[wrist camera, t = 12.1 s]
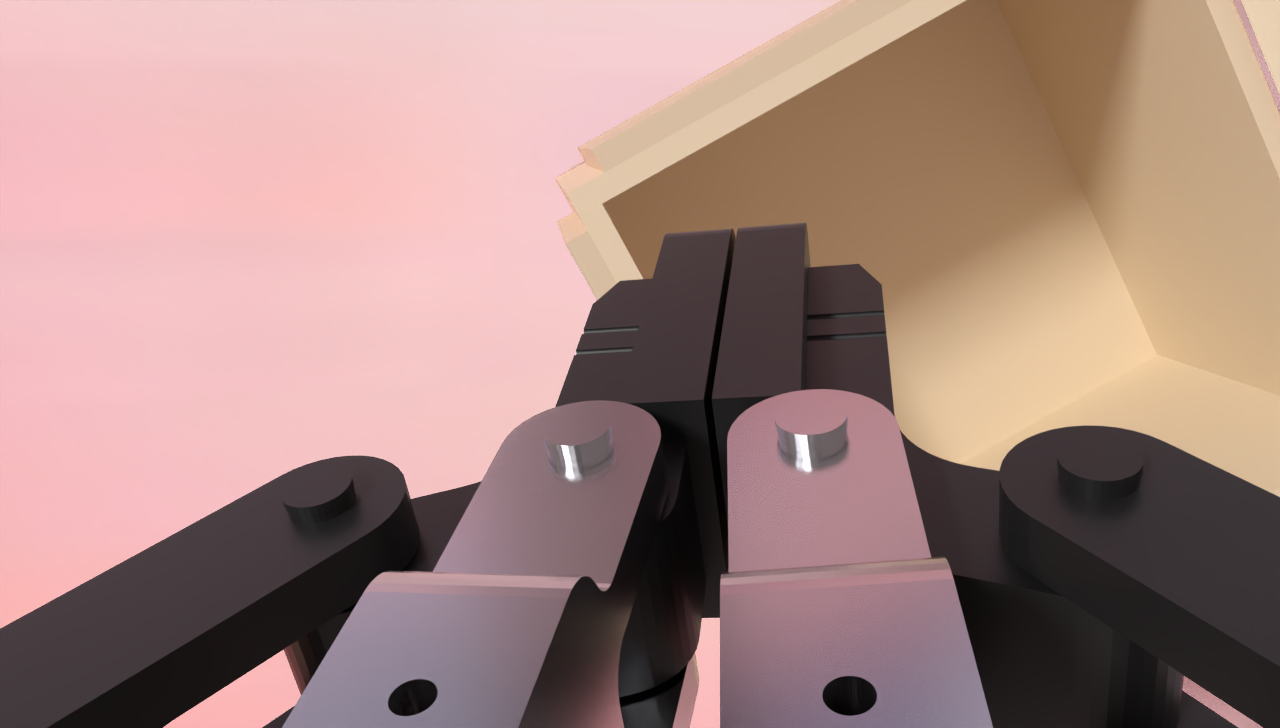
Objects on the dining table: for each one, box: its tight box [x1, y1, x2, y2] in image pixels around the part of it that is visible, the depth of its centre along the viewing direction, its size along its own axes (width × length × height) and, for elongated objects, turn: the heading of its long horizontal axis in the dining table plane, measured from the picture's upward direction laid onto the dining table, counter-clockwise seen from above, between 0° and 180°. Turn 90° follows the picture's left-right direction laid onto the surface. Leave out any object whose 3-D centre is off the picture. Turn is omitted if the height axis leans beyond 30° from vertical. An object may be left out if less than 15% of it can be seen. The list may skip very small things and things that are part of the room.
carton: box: [555, 0, 1280, 497], centre depth 35 cm, size 17×17×12 cm
